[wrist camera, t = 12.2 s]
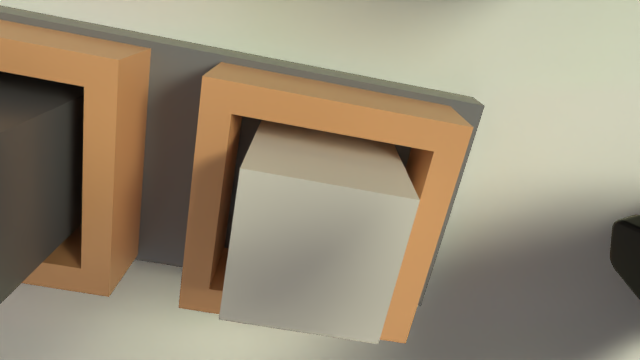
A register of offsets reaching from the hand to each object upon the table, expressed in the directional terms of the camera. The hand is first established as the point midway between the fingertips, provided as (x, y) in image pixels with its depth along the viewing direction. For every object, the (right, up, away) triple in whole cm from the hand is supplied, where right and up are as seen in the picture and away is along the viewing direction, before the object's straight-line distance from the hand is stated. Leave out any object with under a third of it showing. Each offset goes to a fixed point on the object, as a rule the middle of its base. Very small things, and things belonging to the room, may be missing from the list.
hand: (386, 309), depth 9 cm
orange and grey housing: (-6, +3, +12) cm, 14 cm away
